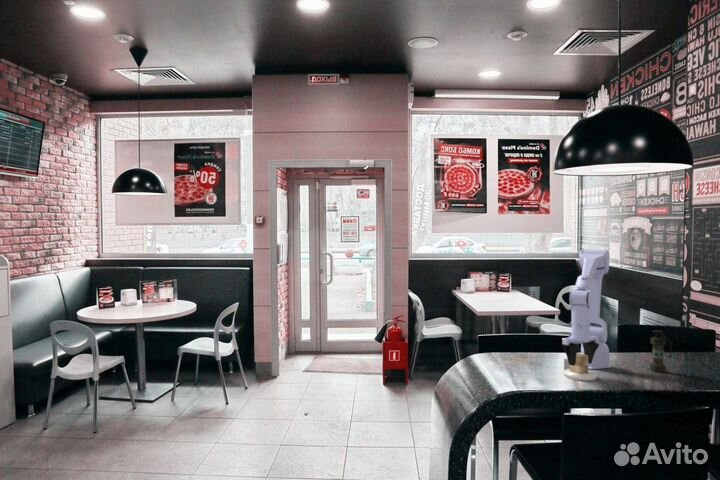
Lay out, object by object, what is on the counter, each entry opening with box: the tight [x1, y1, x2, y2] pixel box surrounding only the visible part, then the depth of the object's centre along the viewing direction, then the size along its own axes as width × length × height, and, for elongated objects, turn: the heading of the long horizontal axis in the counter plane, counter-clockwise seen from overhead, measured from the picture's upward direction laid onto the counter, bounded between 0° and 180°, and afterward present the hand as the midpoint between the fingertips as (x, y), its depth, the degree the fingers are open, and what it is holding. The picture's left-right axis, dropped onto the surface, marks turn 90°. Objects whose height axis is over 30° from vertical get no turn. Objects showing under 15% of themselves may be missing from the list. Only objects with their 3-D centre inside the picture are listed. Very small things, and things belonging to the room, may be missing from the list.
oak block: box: [570, 352, 589, 374], centre depth 165 cm, size 4×4×6 cm
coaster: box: [563, 369, 597, 382], centre depth 165 cm, size 10×10×2 cm
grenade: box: [649, 329, 672, 373], centre depth 173 cm, size 6×6×15 cm
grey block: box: [563, 357, 570, 371], centre depth 174 cm, size 4×4×4 cm
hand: (580, 364), depth 165 cm, fingers open, 7 cm apart
